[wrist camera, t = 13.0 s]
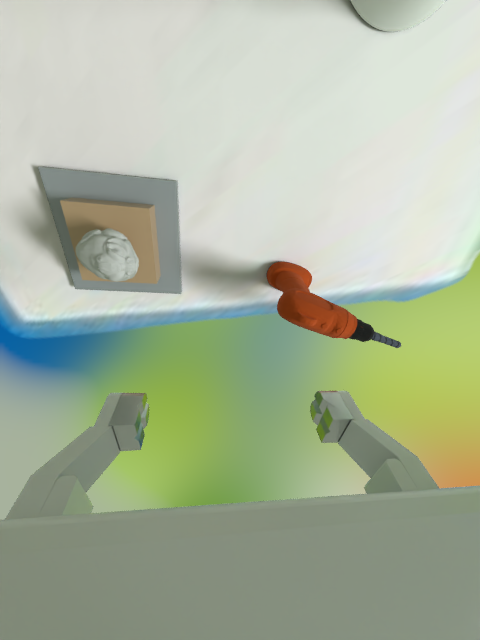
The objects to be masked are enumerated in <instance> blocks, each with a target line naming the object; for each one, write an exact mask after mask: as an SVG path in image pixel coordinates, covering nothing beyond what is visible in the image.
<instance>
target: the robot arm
mask: <svg viewBox="0 0 480 640" xmlns="http://www.w3.org/2000/svg"><path fill="white" fill-rule="evenodd" d="M446 1H447V0H351V2H352V4H353V6H354V8H355V9H356V11H357V12H358V14H359V15H360V16H361V17H362V18H363V19H364V20H365V21H366V22H367V23H368V24H370V25H371V26H373V27H375V28H377V29H379V30H383V31H388V32H396V31H402V30H406V29H409V28H412V27H414V26H416V25H418V24H420V23H421V22H423V21H424V20H426V19H427V18H429V17H430V16H431V15H432V14H434V13H435V12H436V11H437V10H438V9H439V8H440V7H441V6H442V5H443V4H444V3H445V2H446ZM146 402H147V394H146V393H110V394H109V395H108V396H107V399H106V401H105V403H104V405H103V408H102V410H101V412H100V414H99V416H98V418H97V421H96V423H95V425H94V427H89V428H88V429H87V430H86V431H84V432H83V433H82V434H81V435H80V436H78V437H77V438H76V439H75V440H74V441H72V442H71V443H70V444H69V445H68V446H66V447H65V448H64V449H63V450H61V451H60V452H59V453H58V454H57V455H56V456H54V457H53V458H52V459H51V460H49V461H48V462H47V463H46V464H45V465H43V466H42V467H41V468H40V469H38V470H37V471H36V472H35V473H34V474H33V475H31V476H30V478H29V480H28V481H27V483H26V485H25V487H24V488H23V490H22V491H21V493H20V495H19V497H18V498H17V500H16V502H15V503H14V505H13V507H12V508H11V510H10V512H9V513H8V515H7V517H6V519H5V520H0V640H480V486H470V487H455V488H441V489H439V487H438V486H437V484H436V483H435V481H434V480H433V479H432V477H431V476H430V474H429V473H428V471H427V470H426V469H425V467H424V466H423V464H422V463H421V461H420V460H419V458H418V457H417V456H416V455H414V454H413V453H412V452H410V451H409V450H408V449H406V448H405V447H404V446H402V445H401V444H400V443H398V442H397V441H396V440H394V439H393V438H392V437H390V436H389V435H388V434H386V433H385V432H384V431H382V430H381V429H380V428H378V427H377V426H376V425H374V424H373V423H371V422H370V421H369V420H367V419H364V417H363V416H362V414H361V412H360V410H359V409H358V407H357V405H356V404H355V402H354V400H353V399H352V397H351V395H350V394H349V392H347V391H318V392H316V394H315V400H314V401H313V402H312V403H311V406H310V412H311V417H312V420H313V422H315V423H316V424H317V425H318V426H317V429H316V430H317V433H318V435H319V438H320V440H321V442H322V443H330V442H331V443H333V442H334V443H337V442H339V443H338V444H339V445H340V446H341V447H342V448H343V449H344V450H345V451H346V452H347V453H348V454H349V455H350V457H351V458H352V459H353V460H354V461H355V462H356V463H357V464H358V465H359V466H360V467H361V468H362V469H363V470H364V471H365V472H366V474H367V475H368V476H369V477H370V478H371V479H370V480H369V481H368V483H367V484H366V485H365V487H364V488H365V491H366V493H367V494H357V495H342V496H328V497H315V498H301V499H287V500H272V501H259V502H244V503H230V504H217V505H202V506H188V507H174V508H160V509H147V510H133V511H118V512H104V513H91V512H92V509H93V505H92V503H91V501H90V500H89V498H88V496H87V495H86V492H87V491H88V490H89V488H90V487H91V486H92V485H93V484H94V482H95V481H96V480H97V479H98V478H99V477H100V475H101V474H102V473H103V472H104V471H105V470H106V468H107V467H108V466H109V465H110V464H111V462H112V461H113V460H114V459H115V458H116V457H117V455H118V454H119V453H120V451H131V450H141V446H142V443H143V439H144V430H143V429H144V428H145V427H146V426H147V423H148V418H149V405H148V404H147V403H146Z"/></svg>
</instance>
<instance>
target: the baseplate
mask: <svg viewBox="0 0 480 640" xmlns="http://www.w3.org/2000/svg"><path fill="white" fill-rule="evenodd" d="M38 168H39V172H40V175H41V178H42V181H43V185H44V188H45V191H46V194H47V198H48V201H49V204H50V207H51V211H52V214H53V217H54V221H55V224H56V227H57V230H58V234H59V237H60V240H61V243H62V247H63V250H64V253H65V256H66V260H67V263H68V266H69V270H70V273H71V276H72V279H73V283H74V286H75V289H86V290H108V291H130V292H152V293H174V294H181V292H182V284H181V257H180V231H179V205H178V181H174V180H164V179H155V178H146V177H136V176H127V175H117V174H108V173H98V172H89V171H80V170H70V169H61V168H51V167H38ZM107 228H110V229H113V230H116V231H118V232H120V233H122V234H124V235H125V237H127V239H128V240H129V241H130V242H131V245H132V247H133V249H134V251H135V253H136V255H137V257H138V259H139V263H138V264H139V267H138V269H137V273H136V274H135V276H134V277H133V278H131V279H128V280H126V281H118V282H116V281H110V280H108V279H102V278H100V277H98V276H96V275H95V274H94V273H92V272H91V271H89V270H88V269H87V268H85V267H84V266H83V265H82V264H81V262H80V261H79V259H78V257H77V255H76V246H77V244H78V243H79V242H80V241H81V240H82V237H83V236H84V235H85V234H86V233H87V232H89V231H92V230H96V229H97V230H102V231H103V230H105V229H107Z"/></svg>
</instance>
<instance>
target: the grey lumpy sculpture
mask: <svg viewBox="0 0 480 640" xmlns="http://www.w3.org/2000/svg"><path fill="white" fill-rule="evenodd" d="M76 255H77V257H78V259H79V261H80V262H81V264H82V265H83V266H84V267H85V268H87V269H88V270H89V271H91V272H92V273H94V274H95V275H96V276H98V277H100V278H102V279H108V280H110V281H116V282H118V281H126V280H128V279H131V278H133V277H134V276H135V274H136V273H137V269H138V267H139V264H138V263H139V259H138V257H137V255H136V253H135V251H134V249H133V247H132V245H131V242H130V241H129V240H128V239H127V237H125V235H124V234H122V233H120V232H118V231H116V230H113V229H110V228H107V229H105V230H103V231H102V230H97V229H96V230H92V231H89V232H87V233H86V234H85V235H84V236H83V237H82V240H81V241H80V242H79V243H78V244H77V246H76Z"/></svg>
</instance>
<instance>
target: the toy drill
mask: <svg viewBox="0 0 480 640" xmlns="http://www.w3.org/2000/svg"><path fill="white" fill-rule="evenodd" d="M267 280H268V282H269V284H270V285H271V286H272V287H274V288H276V289H278V290H280V291H282V292H283V294H282V296H281V297H280V299H279V301H278V305H277V310H278V313H279V315H280V316H281V317H282V318H284V319H286V320H287V321H289V322H291V323H293V324H295V325H297V326H300V327H303V328H305V329H308V330H311V331H314V332H317V333H320V334H323V335H326V336H329V337H332V338H344V339H347V338H350V339H356V340H359V341H362V342H364V341H369V340H371V339H372V340H374V341H379V342H381V343H385V344H387V345H390V346H393V347H396V348H399V347H400V346H401V343H400V342H399V341H396V340H393V339H391V338H388V337H385V336H383V335H381V334H379V333H376V332H374V330H373V328H372V327H371V325H369V324H366V323H364V322H362V321H361V320H358V319H357V318H356V317H355V316H354V315H352V314H351V313H350V312H348V311H347V310H346V309H344V308H342V307H340V306H337V305H335V304H333V303H331V302H329V301H327V300H325V299H323V298H321V297H319V296H317V295H315V294H313V293H310V291H309V289H308V287H309V286H310V284H311V281H312V276H311V274H310V272H309V271H308V270H306V269H305V268H303V267H301V266H299V265H296V264H293V263H288V262H277V263H274V264H273V265H271V266H270V267H269V269H268V272H267Z"/></svg>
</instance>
